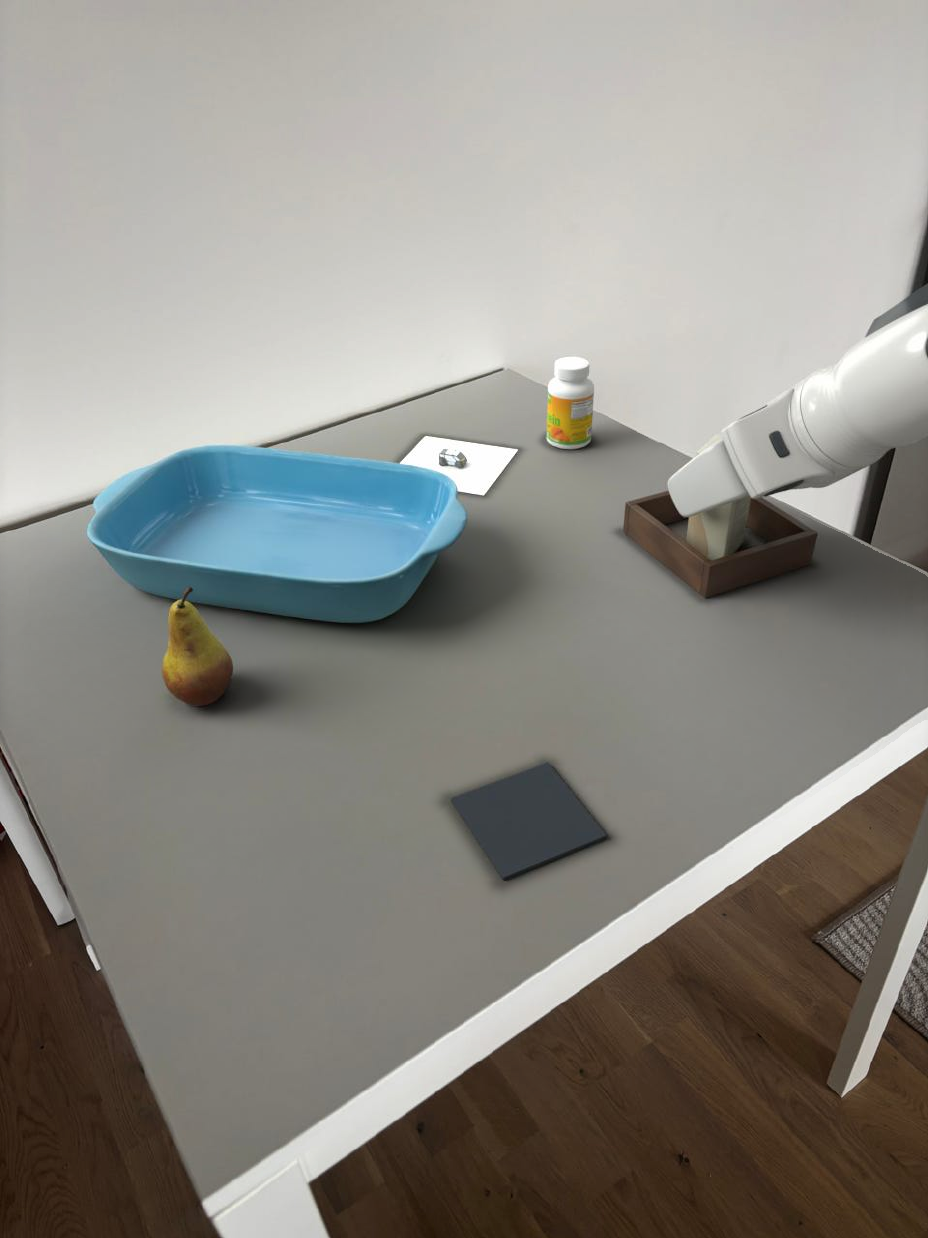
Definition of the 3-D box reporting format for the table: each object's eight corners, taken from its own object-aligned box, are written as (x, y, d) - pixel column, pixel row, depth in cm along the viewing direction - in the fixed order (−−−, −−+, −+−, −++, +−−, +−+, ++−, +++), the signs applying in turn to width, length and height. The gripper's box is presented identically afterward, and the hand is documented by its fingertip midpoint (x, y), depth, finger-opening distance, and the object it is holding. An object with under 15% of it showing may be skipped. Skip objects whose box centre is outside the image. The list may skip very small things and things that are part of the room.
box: (705, 530, 99) (719, 430, 93) (745, 542, 97) (762, 440, 91) (682, 552, 96) (695, 450, 89) (723, 565, 94) (739, 462, 87)
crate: (811, 564, 94) (818, 532, 92) (705, 598, 89) (709, 566, 87) (721, 503, 104) (726, 474, 102) (622, 532, 99) (625, 501, 97)
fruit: (244, 672, 82) (220, 551, 75) (230, 717, 77) (203, 593, 70) (178, 673, 82) (148, 552, 75) (161, 718, 77) (127, 594, 70)
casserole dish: (56, 600, 91) (35, 535, 87) (177, 491, 109) (164, 432, 105) (427, 663, 82) (423, 593, 78) (495, 532, 100) (495, 470, 96)
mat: (606, 838, 66) (606, 835, 66) (503, 880, 64) (503, 878, 63) (547, 764, 72) (548, 761, 72) (450, 801, 69) (450, 798, 69)
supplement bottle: (538, 436, 118) (540, 358, 113) (577, 427, 120) (581, 351, 114) (559, 453, 114) (562, 374, 109) (599, 444, 116) (604, 366, 110)
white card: (483, 495, 106) (483, 483, 105) (384, 479, 110) (383, 467, 109) (518, 449, 115) (518, 437, 114) (425, 436, 119) (424, 424, 118)
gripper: (883, 370, 86) (779, 433, 98) (715, 427, 77) (625, 489, 89) (914, 434, 85) (806, 490, 98) (749, 499, 76) (653, 552, 89)
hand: (718, 490), depth 93 cm, fingers open, 7 cm apart
